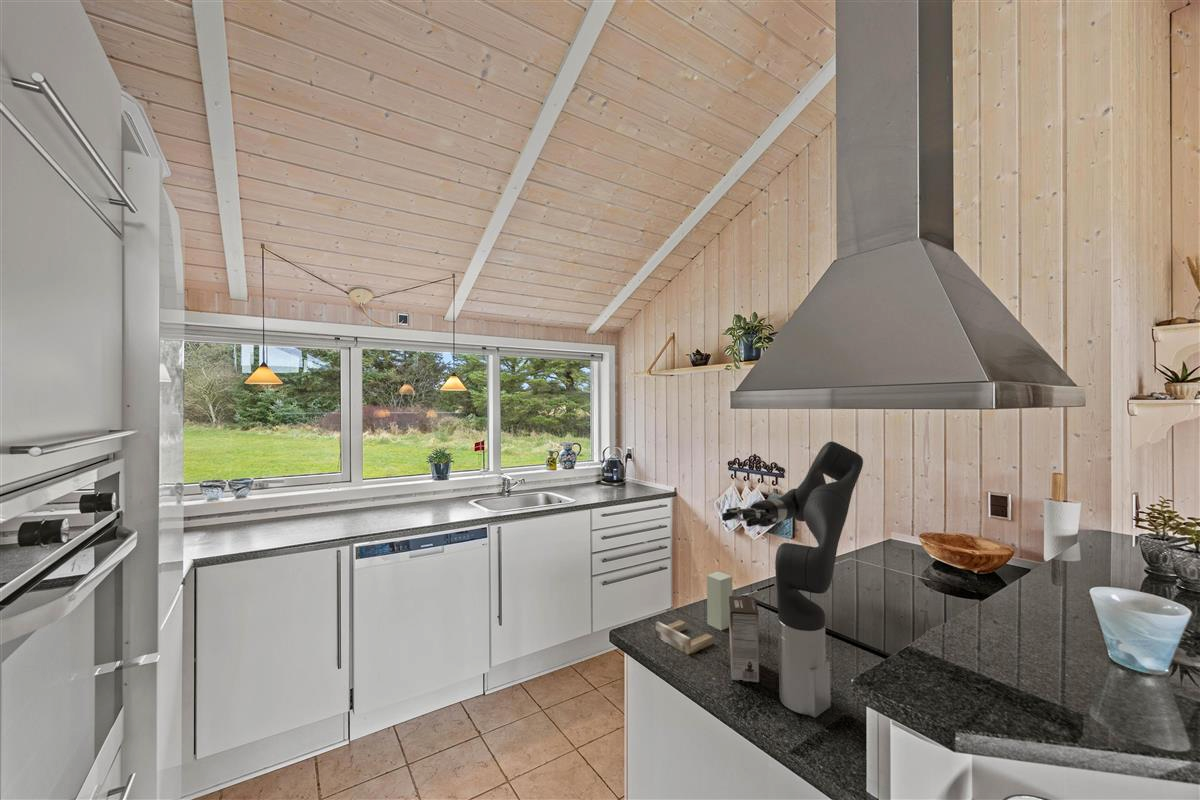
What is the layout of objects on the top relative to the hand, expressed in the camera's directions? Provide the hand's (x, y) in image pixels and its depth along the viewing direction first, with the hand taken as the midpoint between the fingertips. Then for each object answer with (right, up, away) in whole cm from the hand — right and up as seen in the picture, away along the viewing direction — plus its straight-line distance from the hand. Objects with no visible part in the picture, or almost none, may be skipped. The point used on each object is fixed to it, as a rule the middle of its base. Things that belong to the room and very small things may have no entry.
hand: (735, 520), depth 141 cm
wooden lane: (-17, -30, -10) cm, 36 cm away
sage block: (-5, -30, -1) cm, 30 cm away
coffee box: (-5, -30, -25) cm, 39 cm away
